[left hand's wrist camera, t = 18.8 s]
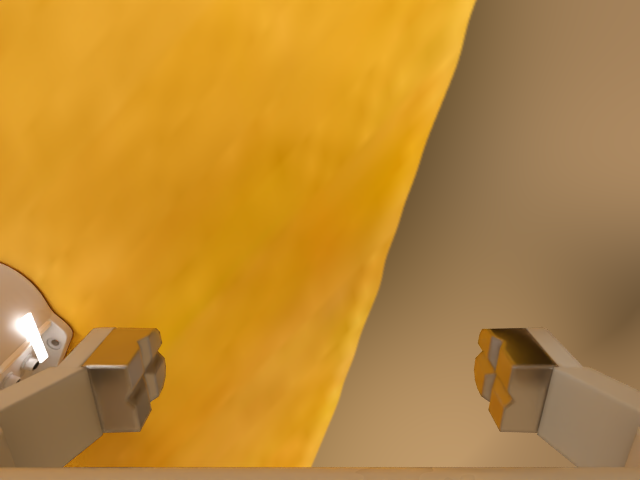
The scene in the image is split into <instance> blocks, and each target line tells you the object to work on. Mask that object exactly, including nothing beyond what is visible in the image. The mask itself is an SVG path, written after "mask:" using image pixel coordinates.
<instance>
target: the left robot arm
mask: <svg viewBox="0 0 640 480" xmlns="http://www.w3.org/2000/svg"><path fill="white" fill-rule="evenodd" d="M72 335H73V332H72V330H71V328H70V327H69V326H68V324H66V323H65V322H64V321H63V320H62V319H61V318H60V317H58V316H57V315H56V314H54V313H53V311H52V310H51V309H50V307H49V306H48V304H47V302H46V301H45V299H44V297H43V296H42V295H41V293H40V292H39V291H38V289H37V288H36V287H35V286H34V285H33V284H32V283H31V282H30V281H29V280H28V279H26V278H25V277H24V276H23V275H21V274H20V273H18V272H17V271H15V270H14V269H12V268H10V267H8V266H6V265H4V264H2V263H0V480H640V391H639V390H637V389H635V388H633V387H631V386H629V385H627V384H625V383H623V382H620V381H618V380H616V379H614V378H612V377H610V376H608V375H606V374H603V373H601V372H599V371H597V370H595V369H593V368H591V367H583V366H582V365H581V364H580V363H579V362H578V361H577V360H576V359H575V358H574V357H573V356H572V355H571V354H570V353H569V352H568V350H567V349H566V348H565V347H564V346H563V345H562V344H561V343H560V342H559V341H558V340H557V339H556V338H555V337H554V336H553V335H552V334H551V333H550V332H549V331H548V329H545V328H543V327H534V328H507V329H482V330H481V332H480V335H479V340H478V344H479V346H480V347H481V349H482V352H481V353H480V354H479V355H478V356H477V357H476V358H475V366H474V374H475V382H476V385H477V389H478V391H479V393H480V395H481V396H482V397H483V398H485V399H486V400H488V401H489V402H490V404H489V412H490V414H491V416H492V417H493V419H494V421H495V423H496V425H497V427H498V429H499V431H500V432H529V433H537V435H539V436H540V437H541V438H542V439H543V440H545V441H546V442H547V443H548V444H550V445H551V446H552V447H553V448H554V449H556V450H557V451H558V452H559V453H561V454H562V455H563V456H564V457H566V458H567V459H568V460H569V461H570V462H572V463H573V464H574V465H575V466H577V467H64V466H65V465H66V464H67V463H68V462H70V461H71V460H72V459H73V458H75V457H76V456H77V455H78V454H80V453H81V452H82V451H83V450H84V449H86V448H87V447H88V446H89V445H91V444H92V443H93V442H94V441H96V440H97V439H98V438H99V437H101V436H102V435H103V433H111V432H140V431H141V429H142V427H143V425H144V423H145V421H146V419H147V418H148V416H149V414H150V412H151V404H150V402H151V401H152V400H154V399H155V398H157V397H158V396H159V395H160V393H161V390H162V388H163V385H164V381H165V376H166V365H165V358H164V357H163V356H162V355H161V354H160V353H159V352H158V349H159V347H160V346H161V344H162V340H161V335H160V332H159V331H158V330H157V329H156V328H115V327H105V328H95V329H93V330H92V331H91V332H90V333H89V334H88V335H87V336H86V337H85V338H84V339H83V340H82V341H81V342H80V343H79V344H78V345H77V346H76V347H75V348H74V349H73V351H72V352H71V353H70V354H69V355H68V356H67V357H66V358H65V359H64V357H65V354H66V351H67V349H68V346H69V344H70V341H71V338H72ZM56 340H57V341H58V342H57V341H56ZM63 359H64V360H63Z"/></svg>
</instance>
